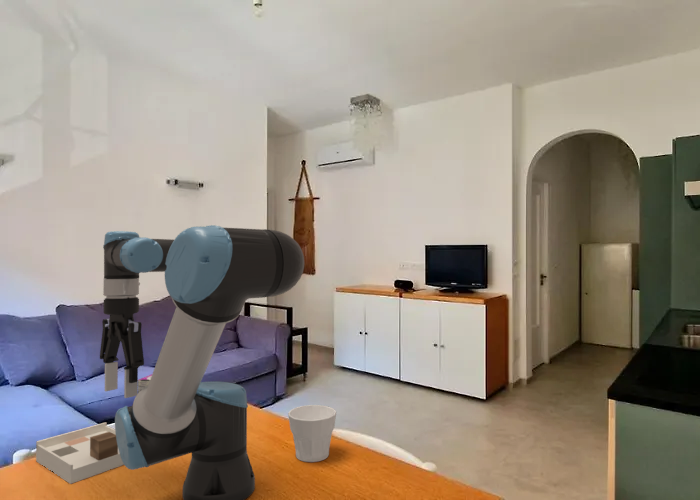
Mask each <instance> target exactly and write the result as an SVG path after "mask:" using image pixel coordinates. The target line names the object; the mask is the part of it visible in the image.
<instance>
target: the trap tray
mask: <svg viewBox="0 0 700 500" xmlns="http://www.w3.org/2000/svg"><path fill="white" fill-rule="evenodd" d="M107 423H108V422H102V423H98V424H95V425H91V426H87V427H83V428H80V429H76V430H73V431H68V432H65V433H61V434H58V435H54V436H51V437H47V438H44V439H39V440H37V441H36V442H35V446H36V451H35V454H36V455H35V460H36V461H35V462H36V463H38V464H39V465H41V466H42V465H43V467H44V466H45V467H46V469H47V468H48V469H47V470H49V471H50V470H51V471H50V472H52V471H53V472H54V473H53V472H52V473H53V474H55V475H56V474H57V475H56V476H58V477H59V476H60V477H59V478H60V479H62V480H64V481H65V482H67V483H68V484H69V485H70V484H74V483H76V482H80V481H82V480H85V479H86V480H87V479H88V478H90V477H94V476H97V475H99V474H102V473H104V472H107V471H110V469H111V470H114V469H115V468H118V467H119V468H120V467H122V466H125V465H124V464H123V461H122V459H121V456H120V453H119V449H118V454H117V455H114V456H111V457H108V458H105V459H102V460H97V459H95V458H93V457H91V456H90V437H93V436H96V435H100V434H103V433H106V432H111V433H113V434H115V435H116V433H115V428H113V427H110V426H108V424H107ZM45 467H44V468H45Z"/></svg>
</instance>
